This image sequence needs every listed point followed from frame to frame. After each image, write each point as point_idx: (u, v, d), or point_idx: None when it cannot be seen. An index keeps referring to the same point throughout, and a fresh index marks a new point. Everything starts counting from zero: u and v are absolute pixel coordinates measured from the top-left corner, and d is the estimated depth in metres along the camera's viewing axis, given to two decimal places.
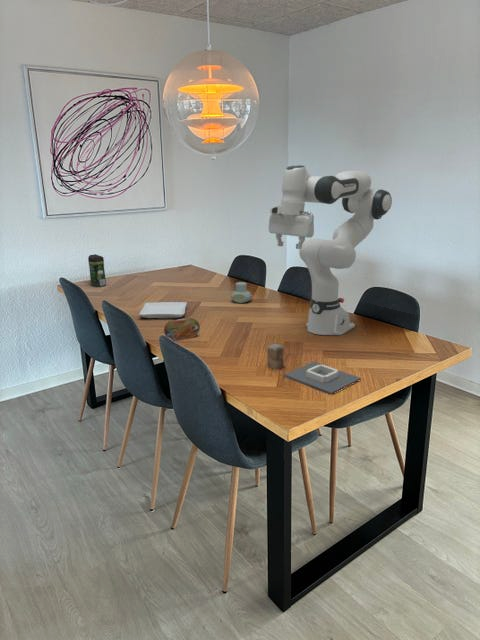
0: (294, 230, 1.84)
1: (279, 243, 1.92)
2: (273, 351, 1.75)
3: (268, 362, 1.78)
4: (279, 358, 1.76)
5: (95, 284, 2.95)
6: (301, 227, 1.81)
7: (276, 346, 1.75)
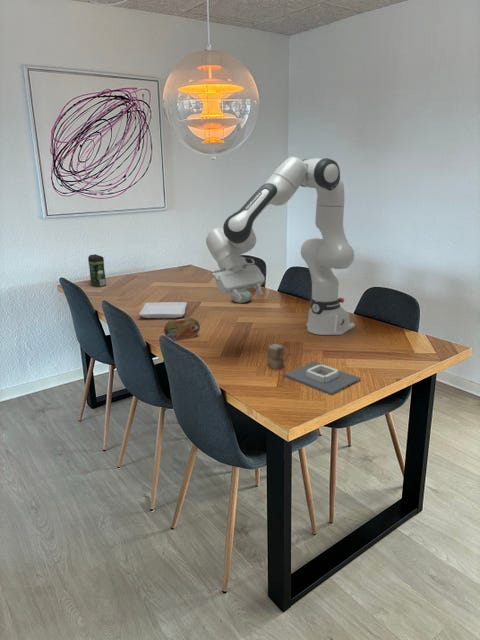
0: None
1: None
2: (273, 351, 1.75)
3: (268, 362, 1.78)
4: (279, 358, 1.76)
5: (95, 284, 2.95)
6: None
7: (276, 346, 1.75)
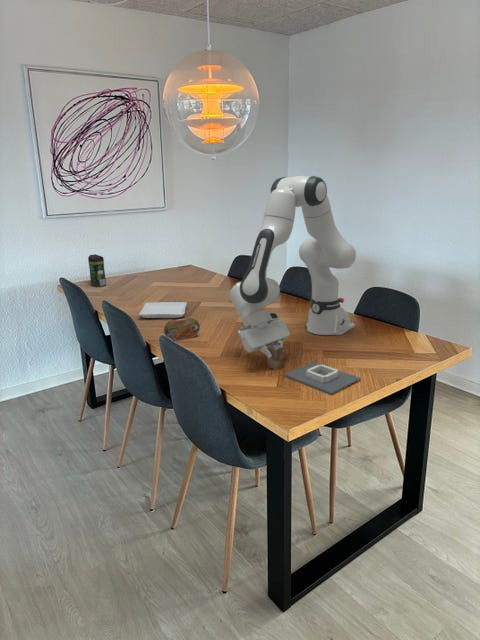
0: None
1: None
2: (273, 351, 1.75)
3: (268, 362, 1.78)
4: (279, 358, 1.76)
5: (95, 284, 2.95)
6: None
7: (276, 346, 1.75)
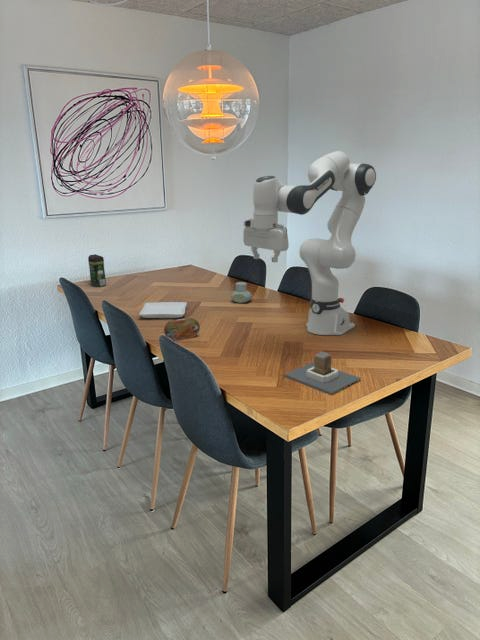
0: (268, 244, 1.79)
1: (255, 256, 1.87)
2: (321, 360, 1.64)
3: (315, 371, 1.67)
4: (327, 367, 1.66)
5: (95, 284, 2.95)
6: (275, 241, 1.76)
7: (324, 354, 1.65)
